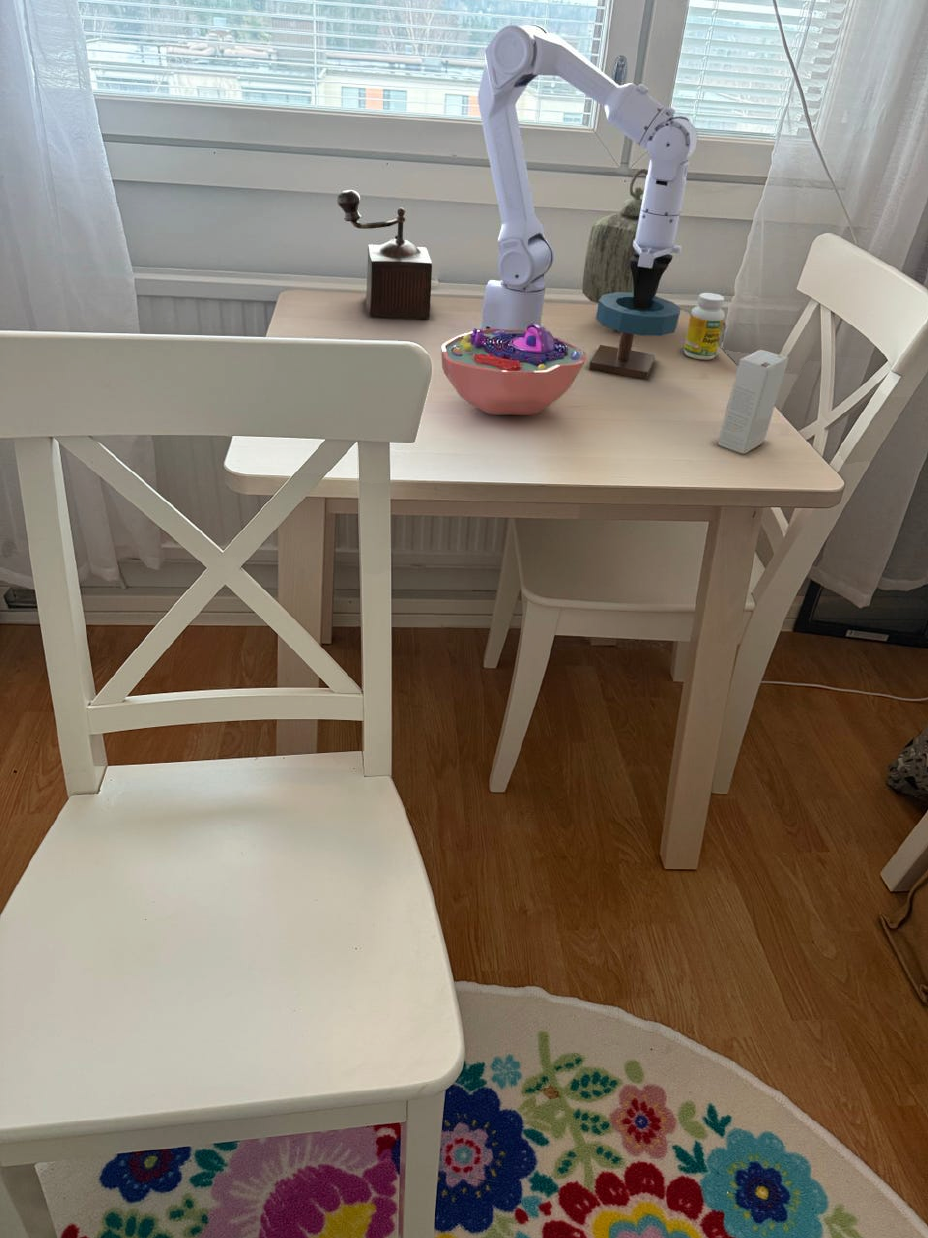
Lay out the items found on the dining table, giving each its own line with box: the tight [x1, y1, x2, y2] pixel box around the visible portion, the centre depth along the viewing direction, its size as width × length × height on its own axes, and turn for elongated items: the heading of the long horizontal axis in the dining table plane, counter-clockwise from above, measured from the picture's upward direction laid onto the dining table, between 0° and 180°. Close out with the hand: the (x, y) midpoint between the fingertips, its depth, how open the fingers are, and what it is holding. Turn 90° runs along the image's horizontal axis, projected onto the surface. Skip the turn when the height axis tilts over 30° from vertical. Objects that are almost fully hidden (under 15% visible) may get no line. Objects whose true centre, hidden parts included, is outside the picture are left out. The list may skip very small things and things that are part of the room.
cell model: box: [440, 324, 588, 416], centre depth 131 cm, size 17×20×11 cm
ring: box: [595, 292, 682, 337], centre depth 144 cm, size 12×12×3 cm
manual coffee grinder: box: [336, 189, 433, 320], centre depth 162 cm, size 16×11×18 cm
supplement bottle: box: [683, 292, 726, 361], centre depth 158 cm, size 5×5×10 cm
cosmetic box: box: [717, 349, 789, 455], centre depth 127 cm, size 6×4×12 cm
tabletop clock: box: [581, 168, 660, 333], centre depth 165 cm, size 14×9×25 cm, turn 148°
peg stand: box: [588, 332, 656, 380], centre depth 151 cm, size 9×9×6 cm
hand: (642, 305), depth 148 cm, fingers closed on ring, 2 cm apart
